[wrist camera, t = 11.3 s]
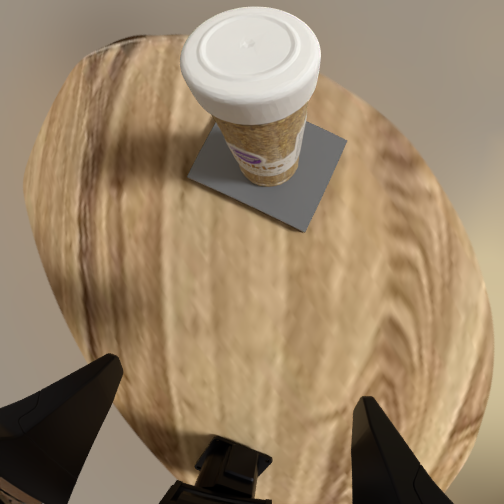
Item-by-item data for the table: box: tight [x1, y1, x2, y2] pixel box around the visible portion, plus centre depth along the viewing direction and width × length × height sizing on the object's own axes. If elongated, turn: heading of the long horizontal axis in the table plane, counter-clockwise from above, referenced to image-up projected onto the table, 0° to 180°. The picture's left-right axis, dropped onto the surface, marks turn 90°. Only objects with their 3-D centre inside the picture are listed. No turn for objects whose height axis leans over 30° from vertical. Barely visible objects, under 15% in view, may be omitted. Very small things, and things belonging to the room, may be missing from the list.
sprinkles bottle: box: [180, 7, 321, 187], centre depth 13 cm, size 5×5×14 cm
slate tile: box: [187, 121, 347, 233], centre depth 20 cm, size 8×10×1 cm
